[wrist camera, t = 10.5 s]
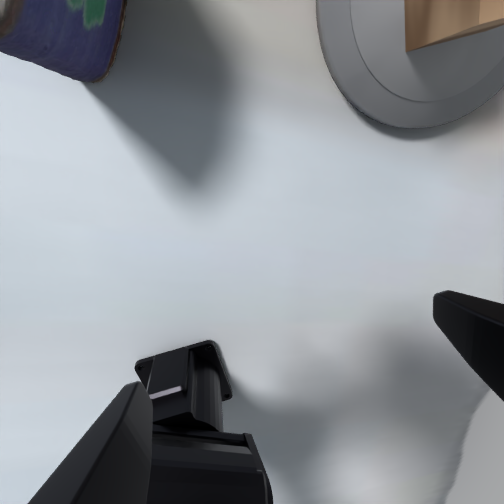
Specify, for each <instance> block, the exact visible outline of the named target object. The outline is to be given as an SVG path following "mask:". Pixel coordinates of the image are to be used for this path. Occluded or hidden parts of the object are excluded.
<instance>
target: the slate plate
mask: <svg viewBox="0 0 504 504" xmlns="http://www.w3.org/2000/svg"><path fill="white" fill-rule="evenodd" d="M316 15H317V28H318V33H319V39H320V45H321V48H322V51H323V55H324V58H325V62H326V64H327V66H328V69H329V71H330V73H331V75H332V78H333V79H334V81H335V83H336V84H337V86H338V88H339V89H340V91H341V92H342V93H343V94H344V96H345V97H346V98H347V100H348V101H349V102H350V103H351V104H352V105H353V106H355V107H356V108H357V109H358V110H359V111H360V112H362V113H363V114H365V115H366V116H368V117H369V118H371V119H373V120H375V121H377V122H380V123H382V124H386V125H389V126H393V127H401V128H426V127H433V126H438V125H443V124H446V123H449V122H451V121H454V120H457V119H459V118H461V117H463V116H465V115H467V114H469V113H470V112H472V111H474V110H475V109H477V108H478V107H480V106H481V105H483V104H484V103H485V102H486V101H488V100H489V99H490V98H491V97H493V96H494V95H495V94H496V93H497V92H498V91H499V90H500V89H501V88H502V87H503V86H504V25H502V26H499V27H497V28H494V29H491V30H488V31H485V32H481V33H477V34H473V35H469V36H466V37H462V38H458V39H454V40H451V41H447V42H443V43H439V44H435V45H432V46H428V47H424V48H420V49H417V50H413V51H409V52H405V11H404V0H316Z"/></svg>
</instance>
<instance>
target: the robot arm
mask: <svg viewBox="0 0 504 504" xmlns="http://www.w3.org/2000/svg"><path fill="white" fill-rule="evenodd" d="M433 318H434V321H435V323H436V324H437V326H438V327H439V328H440V329H441V331H442V332H443V333H444V334H445V336H446V337H447V338H448V339H449V341H450V342H451V343H452V344H453V346H454V347H455V348H456V350H457V351H458V352H459V353H460V355H461V356H462V357H463V358H464V360H465V361H466V362H467V363H468V364H469V366H470V367H471V368H472V369H473V370H474V371H475V372H476V373H477V374H478V375H479V376H480V377H481V378H482V380H483V381H484V382H485V383H486V384H487V385H488V386H489V387H490V388H491V389H492V390H493V391H494V392H495V393H496V394H497V395H498V396H499V397H500V398H501V399H502V400H503V401H504V304H501V303H497V302H494V301H490V300H486V299H482V298H478V297H474V296H470V295H466V294H462V293H458V292H454V291H450V290H446V291H443V292H439V293H436V294H435V295H434V297H433ZM207 346H211V347H209V348H207ZM140 366H144V367H140ZM135 371H136V373H137V375H138V376H139V378H140V380H141V382H142V383H141V382H140V381H137V382H133V383H130V384H127V385H125V386H124V387H123V388H122V390H121V391H120V392H119V393H118V394H117V396H116V397H115V398H114V399H113V400H112V402H111V403H110V404H109V405H108V407H107V408H106V409H105V410H104V411H103V413H102V414H101V415H100V416H99V417H98V419H97V420H96V421H95V422H94V424H93V425H92V426H91V427H90V428H89V430H88V431H87V432H86V433H85V434H84V436H83V437H82V438H81V439H80V441H79V442H78V443H77V444H76V445H75V447H74V448H73V449H72V450H71V452H70V453H69V454H68V455H67V456H66V458H65V459H64V460H63V461H62V462H61V464H60V465H59V466H58V467H57V469H56V470H55V471H54V472H53V473H52V475H51V476H50V477H49V478H48V479H47V481H46V482H45V483H44V484H43V486H42V487H41V488H40V489H39V490H38V492H37V493H36V494H35V495H34V496H33V498H32V499H31V500H30V501H29V503H28V504H273V495H272V490H271V485H270V482H269V479H268V476H267V474H266V471H265V468H264V466H263V463H262V461H261V458H260V455H259V453H258V450H257V448H256V445H255V442H254V440H253V437H252V435H251V434H248V433H243V434H235V433H226V432H223V417H222V401H225V400H229V399H231V398H232V389H231V387H230V384H229V381H228V379H227V376H226V373H225V371H224V368H223V365H222V363H221V360H220V357H219V355H218V352H217V349H216V347H215V344H214V342H213V341H211V340H206V341H203V342H199V343H196V344H193V345H189V346H186V347H182V348H179V349H175V350H172V351H168V352H165V353H161V354H158V355H155V356H151V357H148V358H145V359H141V360H138V361H137V362H136V365H135Z"/></svg>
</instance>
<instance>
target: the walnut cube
mask: <svg viewBox="0 0 504 504" xmlns="http://www.w3.org/2000/svg"><path fill="white" fill-rule="evenodd" d="M404 11H405V52H409V51H413V50H417V49H420V48H424V47H428V46H432V45H435V44H439V43H443V42H447V41H451V40H454V39H458V38H462V37H466V36H469V35H473V34H477V33H481V32H485V31H488V30H491V29H494V28H497V27H499V26H502V25H504V0H404Z"/></svg>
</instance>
